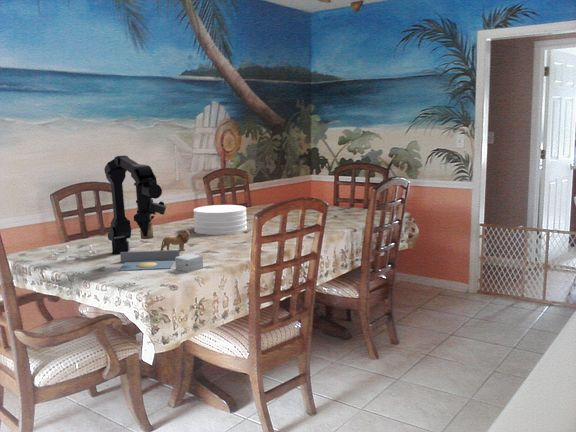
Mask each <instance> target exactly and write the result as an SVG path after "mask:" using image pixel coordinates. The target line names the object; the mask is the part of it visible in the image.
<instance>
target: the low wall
mask: <svg viewBox="0 0 576 432" xmlns="http://www.w3.org/2000/svg"><path fill="white" fill-rule="evenodd" d="M119 256H120V263H125V262H149V261H173V260H174V261H176V259H175V257H178V256H181V255H180V249H169V250H167V249H163V251H162V250H161V251H160V250H146V251H145V250H140V251H139V250H137V251H128V252H120V254H119Z"/></svg>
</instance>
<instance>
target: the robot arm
mask: <svg viewBox="0 0 576 432" xmlns="http://www.w3.org/2000/svg"><path fill="white" fill-rule="evenodd" d="M127 172H128V173H130V177H131V178H132V179H133V180H134V183H133V186H135V194H136V196H135V197H136V199H135V203H136V206H137V210H136V213H135V214H134V215H133V221H134V222H135V223H136V224H137V226H138V228H139V230H140V229H141V231H142V233H143V235H144V236H147V234H148V224H149V223H152V221H153V219H154V218H155V215H156V214H157V213H158V214H160V215H162V216H164V215H165V214H166V209H167V205H165V202H164V201H159V202H158V203H157V202H154V199H158V198H160V197H161V196H162V194H163V189H162V187H161V186H160V185H159V184H158V183H157V181H158V180H157V177H156V175H155V172H153V169H152V167H151V166H150V165H146V164H140V163H138V162H136V161H135V160H133V159H132V158H130V157H129V156H128V155H125V154H124V155H117V156H115V157H114V159H112V160H110V161H108V162H107V163H106V165H105V167H104V173H105V177H106V180H107V181H108V183H109V184H110V189H111V201H112V211H113V216H112V217H113V218H112V220H111V222H110V228H109V231H108V233H107V239H108V241H111V249H112V252H111V255H120V252H130V241H128V239H131V238H132V227H131V221H130V220H129V219H128V218H127V216H126V211H125V210H126V209H125V198H124V197H125V196H124V188H123V182H124V181H125V179H126V175H127V174H126V173H127Z"/></svg>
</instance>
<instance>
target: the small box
mask: <svg viewBox="0 0 576 432" xmlns="http://www.w3.org/2000/svg"><path fill="white" fill-rule="evenodd" d="M175 259H176V260H175V270H177V271H178V270H179V271H183V272H187V273H190V272H195V271H197V270H201V268H202V269H204V257H203V256H202V255H198V254H194V253H186V254H183V255H180V256H178V257H175Z"/></svg>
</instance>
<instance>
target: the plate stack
mask: <svg viewBox="0 0 576 432" xmlns="http://www.w3.org/2000/svg"><path fill="white" fill-rule="evenodd" d="M193 213H194V214H193V227H194V229H193V230H194V232H195V233H196V234H200V235H201V234H202V235H211V236H212V235H213V236H214V235H219V236H220V235H221V236H222V235H231V234H232V235H233V234H236V233H237V234H238V233H241V232H245V231H247V230H248V226H247V225H248V222H247V207H246V206H244V205H238V204H237V205H236V204H213V205H203V206H198V207H195V208H193Z"/></svg>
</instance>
